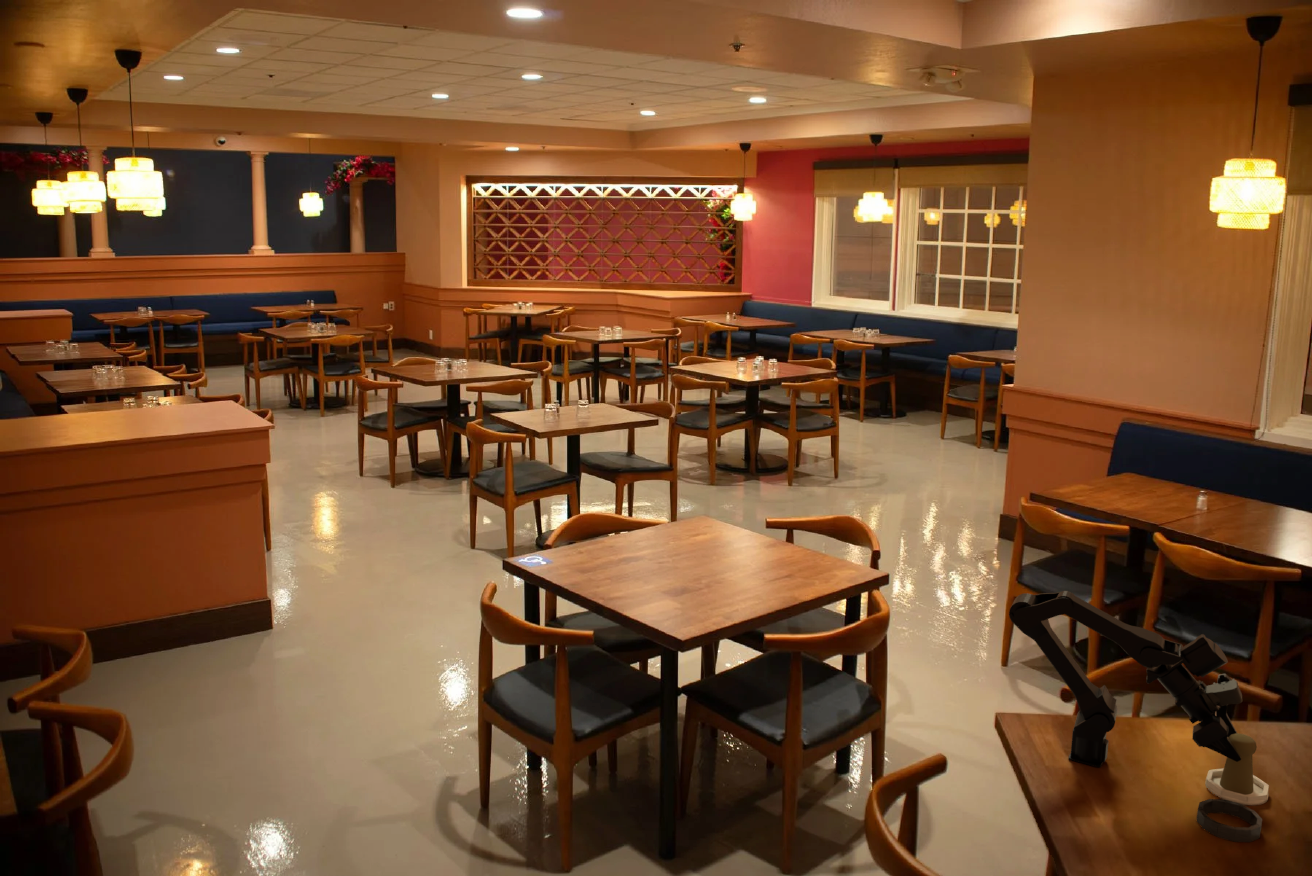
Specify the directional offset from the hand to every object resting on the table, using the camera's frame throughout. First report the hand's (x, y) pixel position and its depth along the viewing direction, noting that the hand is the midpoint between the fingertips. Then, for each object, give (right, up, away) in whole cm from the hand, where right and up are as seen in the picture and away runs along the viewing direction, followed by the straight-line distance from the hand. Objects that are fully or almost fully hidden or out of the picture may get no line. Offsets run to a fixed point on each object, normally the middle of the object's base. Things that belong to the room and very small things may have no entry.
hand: (1238, 750), depth 211 cm
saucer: (0, -9, +2) cm, 9 cm away
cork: (0, -8, +1) cm, 8 cm away
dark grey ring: (-8, -11, -11) cm, 18 cm away
